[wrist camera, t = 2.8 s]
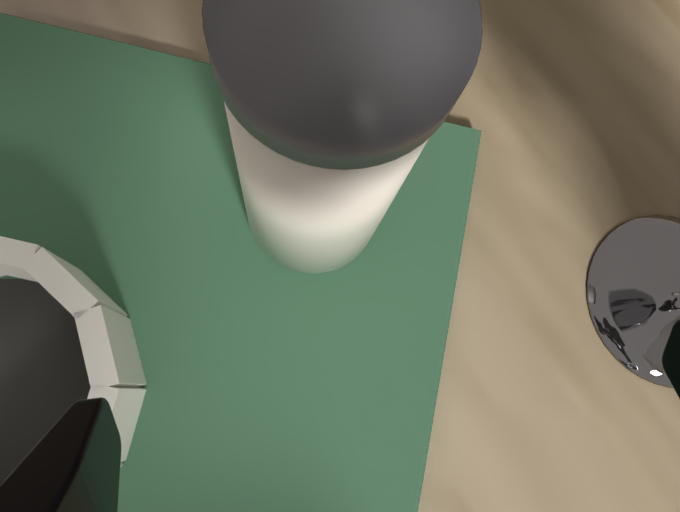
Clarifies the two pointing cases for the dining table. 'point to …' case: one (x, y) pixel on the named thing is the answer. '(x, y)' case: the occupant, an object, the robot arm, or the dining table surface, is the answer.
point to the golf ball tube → (333, 110)
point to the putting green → (207, 294)
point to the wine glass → (637, 292)
